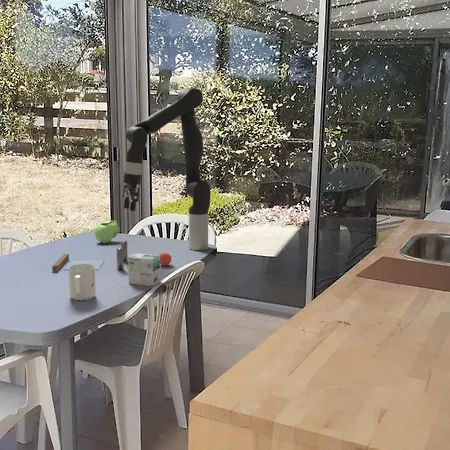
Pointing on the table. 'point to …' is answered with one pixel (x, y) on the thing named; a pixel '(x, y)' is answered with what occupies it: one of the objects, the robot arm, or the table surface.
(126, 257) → the far post
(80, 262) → the light blue tilted panel
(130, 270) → the light bulb box
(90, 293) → the mug
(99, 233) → the green rounded piece
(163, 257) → the ball
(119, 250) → the near post
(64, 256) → the stopper wall
